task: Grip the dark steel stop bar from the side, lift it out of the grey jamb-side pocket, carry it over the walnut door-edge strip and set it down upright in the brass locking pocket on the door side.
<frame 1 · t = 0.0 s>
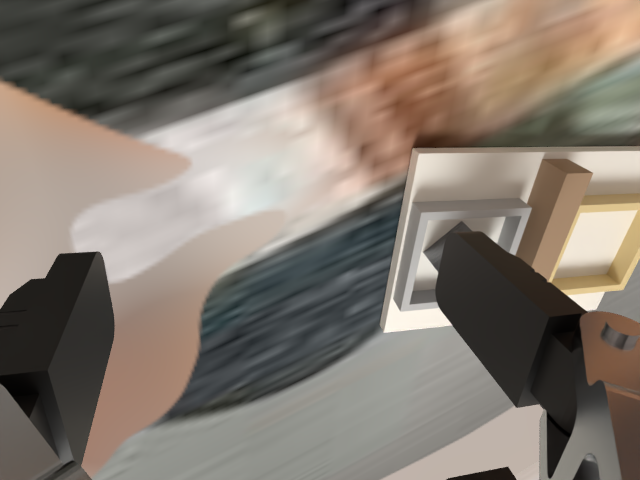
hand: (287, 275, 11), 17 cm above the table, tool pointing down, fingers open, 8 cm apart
stop bar: (453, 250, 33), point 1 cm above the table, touching lock plate
lock plate: (515, 238, 35), on the table
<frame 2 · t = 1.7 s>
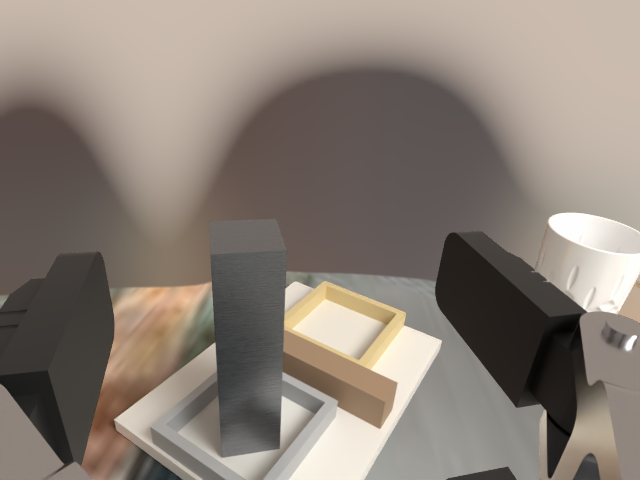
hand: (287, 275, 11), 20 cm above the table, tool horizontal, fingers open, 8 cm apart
white cup: (560, 327, 43), on the table
stop bar: (248, 429, 29), point 1 cm above the table, touching lock plate
lock plate: (299, 384, 34), on the table
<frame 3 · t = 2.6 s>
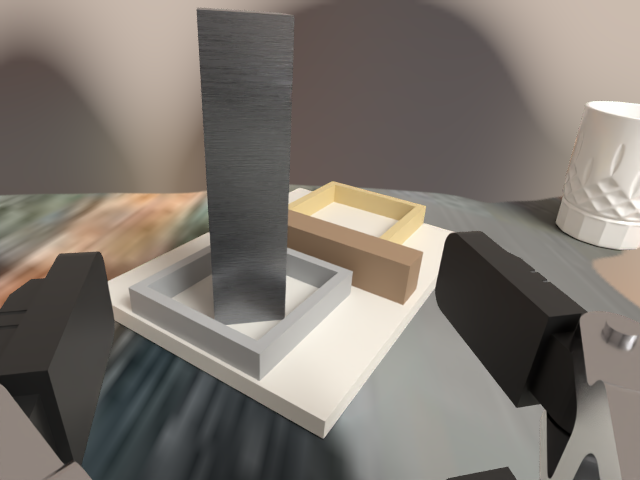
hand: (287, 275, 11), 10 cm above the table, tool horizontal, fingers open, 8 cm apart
white cup: (597, 234, 38), on the table
stop bar: (247, 302, 24), point 1 cm above the table, touching lock plate
lock plate: (306, 272, 29), on the table
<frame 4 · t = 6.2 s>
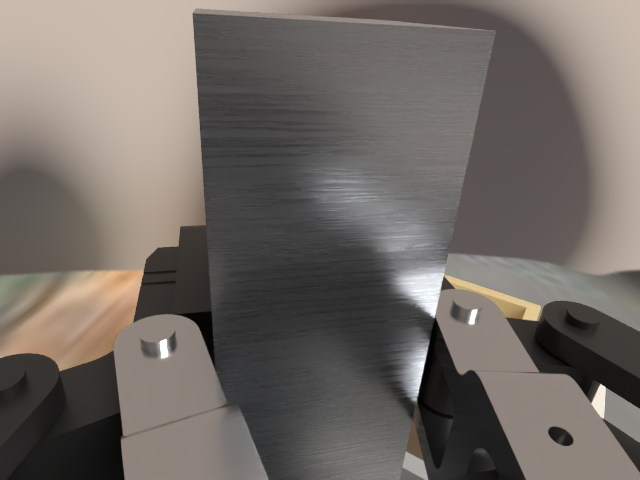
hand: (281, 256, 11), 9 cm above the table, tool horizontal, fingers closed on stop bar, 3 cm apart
lock plate: (376, 441, 18), on the table
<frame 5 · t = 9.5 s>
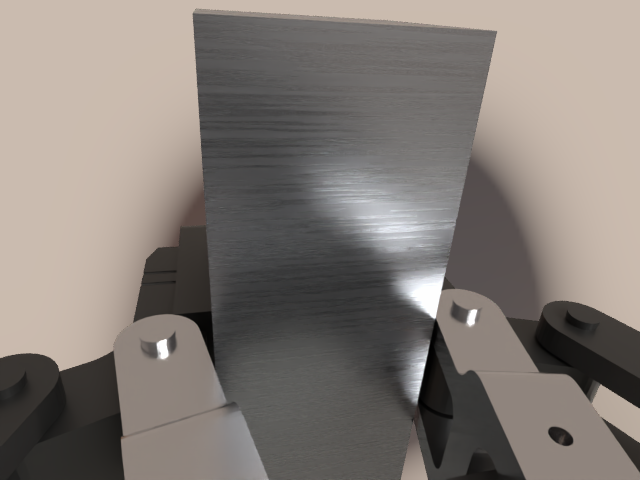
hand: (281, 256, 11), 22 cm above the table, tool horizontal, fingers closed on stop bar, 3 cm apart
when the fingers open (11 cm above the table, at t = 12.7 s): stop bar drops 1 cm, resting on lock plate.
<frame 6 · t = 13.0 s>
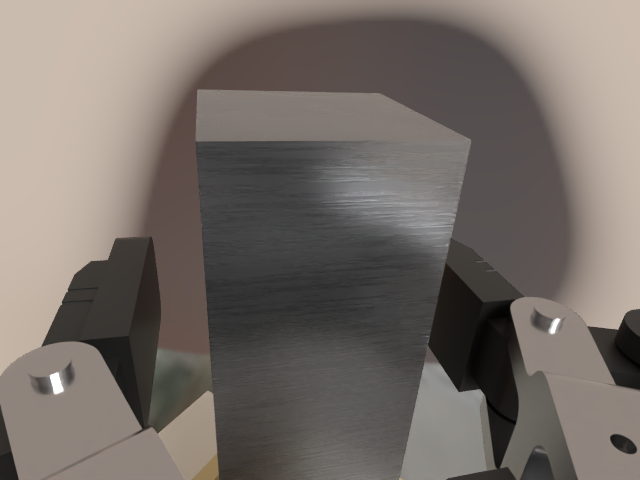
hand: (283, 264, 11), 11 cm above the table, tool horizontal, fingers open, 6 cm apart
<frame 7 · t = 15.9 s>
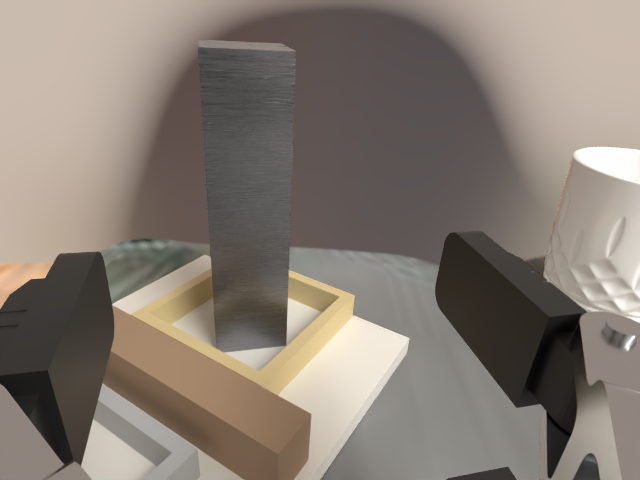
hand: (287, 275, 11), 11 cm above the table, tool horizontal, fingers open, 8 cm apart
white cup: (590, 319, 29), on the table
stop bar: (248, 327, 24), point 1 cm above the table, touching lock plate
lock plate: (164, 412, 20), on the table
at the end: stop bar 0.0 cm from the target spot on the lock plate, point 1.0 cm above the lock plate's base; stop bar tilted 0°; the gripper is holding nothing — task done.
